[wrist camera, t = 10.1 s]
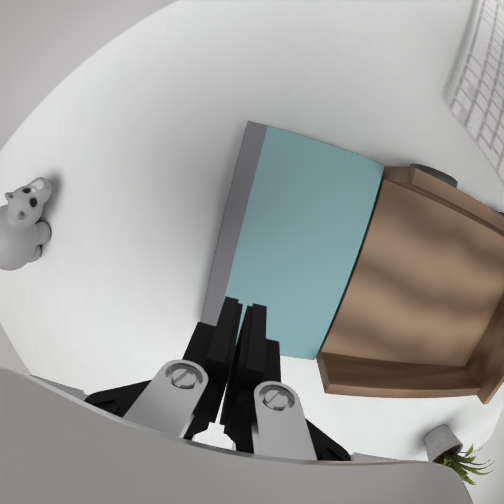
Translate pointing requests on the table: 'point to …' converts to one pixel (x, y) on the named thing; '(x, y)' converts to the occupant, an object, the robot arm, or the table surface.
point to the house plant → (449, 452)
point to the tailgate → (291, 234)
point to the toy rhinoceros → (23, 224)
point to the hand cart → (421, 296)
